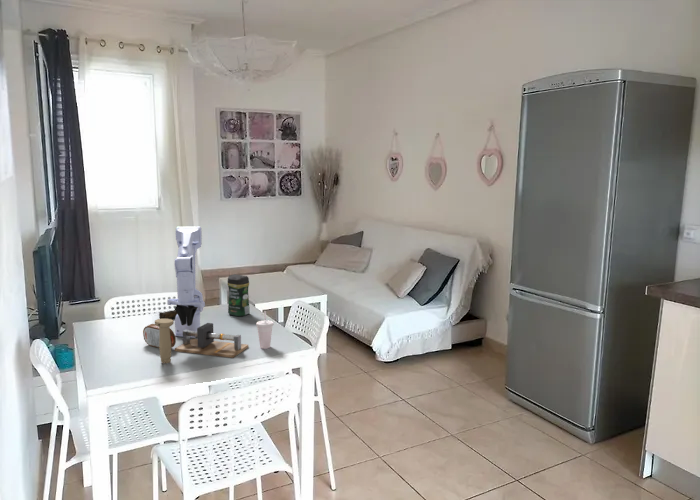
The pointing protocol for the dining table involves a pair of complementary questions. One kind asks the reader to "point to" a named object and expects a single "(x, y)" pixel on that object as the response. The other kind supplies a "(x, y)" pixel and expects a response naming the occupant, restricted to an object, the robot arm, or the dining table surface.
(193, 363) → the dining table surface
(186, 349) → the base board
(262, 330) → the smoothie
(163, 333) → the handle
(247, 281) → the coffee jar
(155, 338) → the tin
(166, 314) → the hand tool
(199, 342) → the collar
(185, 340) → the silver metal rod
